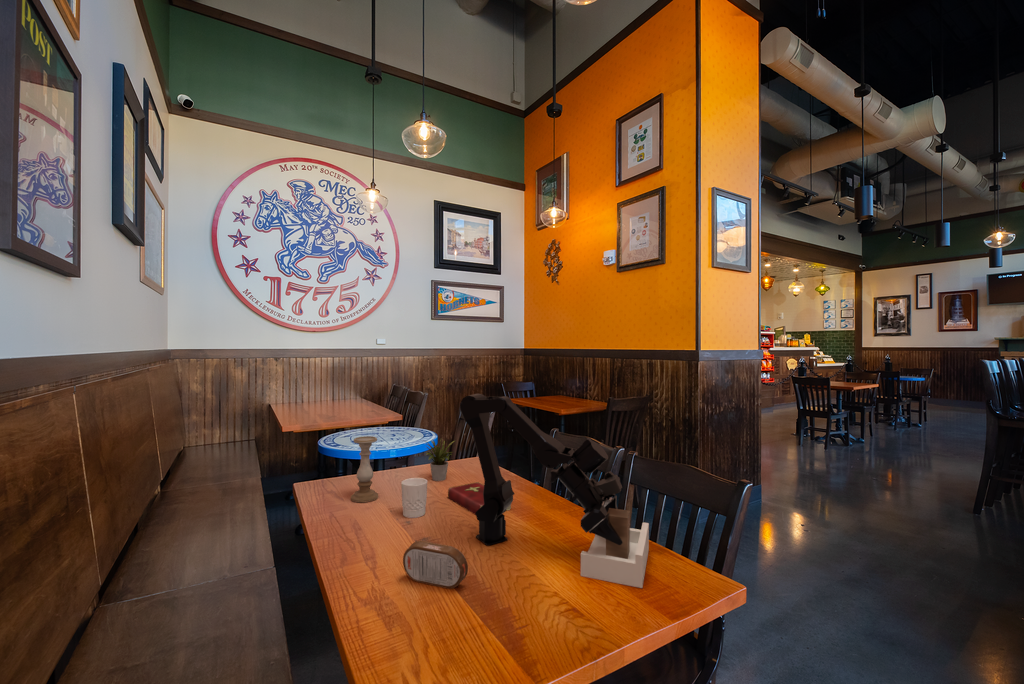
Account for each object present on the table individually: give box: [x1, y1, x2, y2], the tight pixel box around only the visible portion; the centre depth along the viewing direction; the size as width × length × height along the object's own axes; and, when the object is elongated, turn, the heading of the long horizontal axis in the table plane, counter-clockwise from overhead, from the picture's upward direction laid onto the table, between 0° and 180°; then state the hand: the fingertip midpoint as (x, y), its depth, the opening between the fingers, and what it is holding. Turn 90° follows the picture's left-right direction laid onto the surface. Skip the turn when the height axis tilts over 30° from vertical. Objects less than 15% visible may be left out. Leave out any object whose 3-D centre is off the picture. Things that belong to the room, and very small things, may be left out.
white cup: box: [400, 477, 428, 519], centre depth 136 cm, size 8×8×10 cm
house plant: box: [421, 439, 456, 482], centre depth 171 cm, size 14×14×16 cm
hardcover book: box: [447, 481, 512, 516], centre depth 145 cm, size 12×21×4 cm, turn 36°
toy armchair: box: [580, 522, 650, 589], centre depth 107 cm, size 14×19×7 cm
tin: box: [402, 540, 469, 589], centre depth 97 cm, size 15×3×8 cm, turn 71°
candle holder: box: [350, 435, 379, 504], centre depth 149 cm, size 9×9×20 cm
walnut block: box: [606, 508, 631, 559], centre depth 107 cm, size 5×5×10 cm
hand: (623, 536), depth 106 cm, fingers open, 9 cm apart
